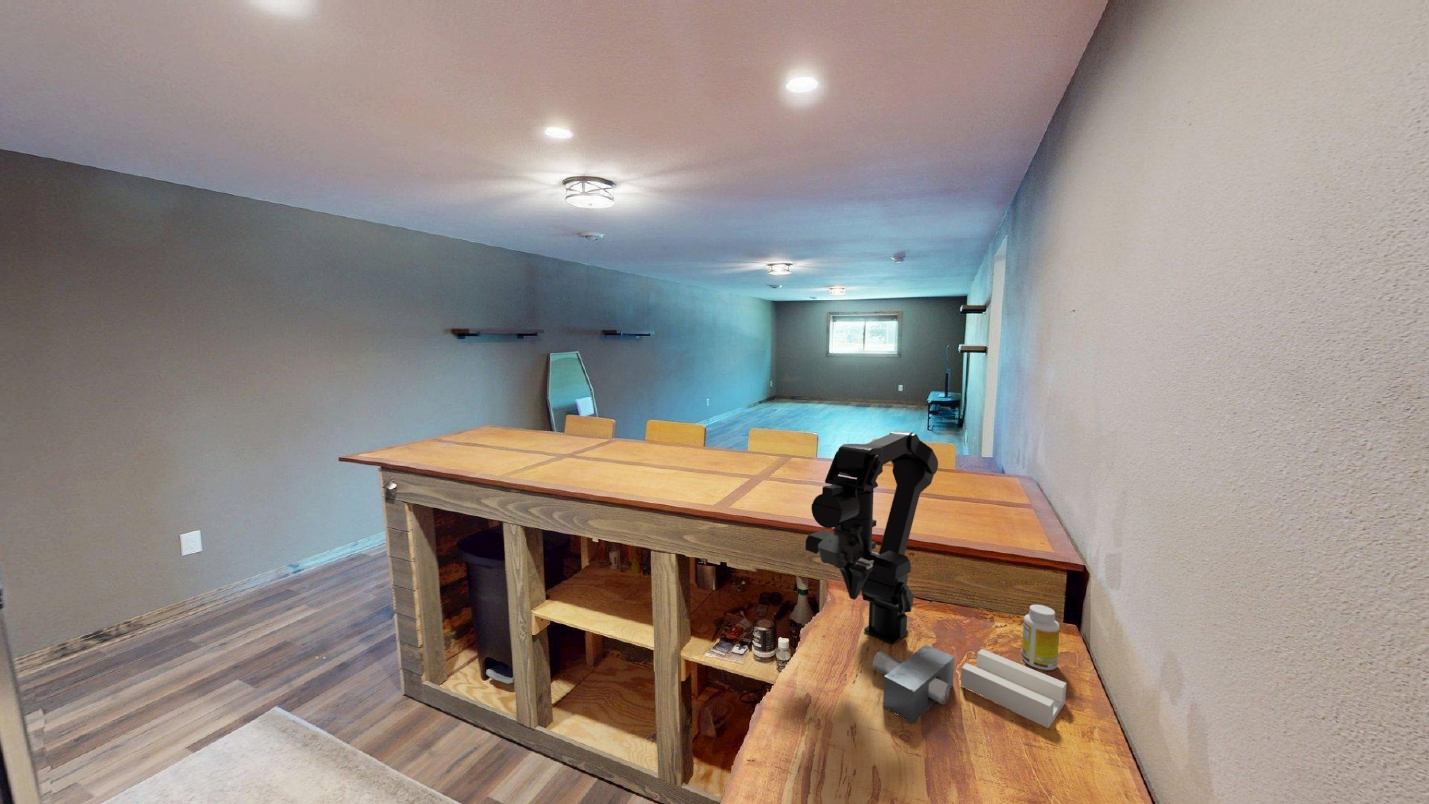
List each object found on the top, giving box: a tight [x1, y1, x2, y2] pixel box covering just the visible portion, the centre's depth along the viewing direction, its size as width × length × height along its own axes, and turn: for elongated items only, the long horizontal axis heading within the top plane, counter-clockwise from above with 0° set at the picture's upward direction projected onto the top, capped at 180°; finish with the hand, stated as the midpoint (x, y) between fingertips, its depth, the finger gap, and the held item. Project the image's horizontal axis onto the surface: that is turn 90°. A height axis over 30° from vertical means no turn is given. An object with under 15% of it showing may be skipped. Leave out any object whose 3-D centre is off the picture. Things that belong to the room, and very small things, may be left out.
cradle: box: [960, 648, 1067, 729], centre depth 85 cm, size 13×9×4 cm, turn 42°
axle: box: [872, 651, 951, 705], centre depth 86 cm, size 12×3×3 cm, turn 42°
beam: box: [882, 644, 955, 725], centre depth 84 cm, size 5×14×5 cm, turn 132°
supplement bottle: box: [1021, 604, 1060, 671], centre depth 94 cm, size 6×6×10 cm
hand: (853, 598), depth 93 cm, fingers closed
